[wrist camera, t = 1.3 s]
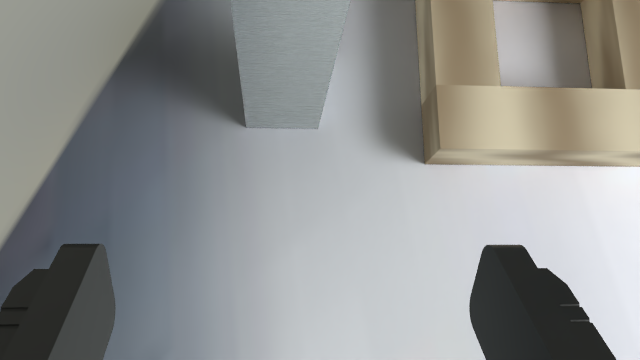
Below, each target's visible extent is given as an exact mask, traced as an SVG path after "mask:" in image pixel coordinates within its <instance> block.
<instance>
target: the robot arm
mask: <svg viewBox="0 0 640 360" xmlns="http://www.w3.org/2000/svg"><path fill="white" fill-rule="evenodd" d="M470 318H471V323H472V326H473V329H474V331H475V334H476V336H477V339H478V341H479V344H480V346H481V349H482V351H483V353H484V356H485V358H486V360H616V358H615V357H614V355H613V354H612V352H611V351H610V349H609V348H608V346H607V345H606V343H605V342H604V340H603V339H602V337H601V335H600V334H599V332H598V331H597V329H596V328H595V326H594V325H593V323H590V322H589V317H588V316H587V314H586V313H585V311H584V310H583V308H582V307H579V302H578V301H577V299H576V298H575V296H574V295H573V293H572V291H571V290H570V288H569V287H568V285H567V284H566V283H564V282H563V281H562V280H561V279H559V278H558V277H557V276H556V275H555V274H553V273H552V272H551V271H550V270H548V269H547V268H537V266H536V265H535V263H534V261H533V260H532V258H531V257H530V255H529V253H528V252H527V250H526V249H525V247H523V246H522V245H486V246H485V247H484V249H483V251H482V254H481V258H480V262H479V266H478V269H477V273H476V277H475V281H474V285H473V289H472V293H471V297H470ZM114 320H115V297H114V292H113V286H112V281H111V275H110V270H109V264H108V259H107V253H106V249H105V247H104V245H103V244H63V245H62V246H61V247H60V249H59V251H58V253H57V255H56V256H55V258H54V260H53V262H52V264H51V266H50V268H49V269H34V270H33V271H32V272H30V273H29V274H28V275H27V276H26V277H24V278H23V279H22V280H21V281H20V282H18V283H17V284H16V285H15V286H14V287H13V288H12V290H11V291H10V293H9V295H8V297H7V298H6V300H5V302H4V303H3V305H2V307H1V312H0V360H103V357H104V354H105V351H106V348H107V345H108V342H109V339H110V336H111V333H112V330H113V326H114Z"/></svg>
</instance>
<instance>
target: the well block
mask: <svg viewBox="0 0 640 360" xmlns="http://www.w3.org/2000/svg"><path fill="white" fill-rule="evenodd" d="M499 1H526V2H553V3H580V5H581V12H582V19H583V27H584V34H585V41H586V48H587V56H588V63H589V70H590V77H591V85H592V88H553V87H511V86H501V83H500V73H499V63H498V52H497V42H496V31H495V21H494V10H493V0H415V7H416V24H417V41H418V58H419V75H420V92H421V109H422V125H423V142H424V159H425V164H455V165H544V166H633V167H640V0H499Z"/></svg>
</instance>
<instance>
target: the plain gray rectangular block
mask: <svg viewBox="0 0 640 360" xmlns="http://www.w3.org/2000/svg"><path fill="white" fill-rule="evenodd" d="M230 2H231V10H232V18H233V26H234V34H235V42H236V50H237V58H238V66H239V74H240V82H241V90H242V98H243V106H244V114H245V122H246V128H302V129H318V127H319V123H320V119H321V115H322V111H323V107H324V103H325V99H326V95H327V91H328V87H329V83H330V79H331V75H332V71H333V67H334V64H335V60H336V56H337V52H338V48H339V44H340V40H341V36H342V32H343V28H344V24H345V20H346V16H347V12H348V8H349V4H350V0H230Z"/></svg>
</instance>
